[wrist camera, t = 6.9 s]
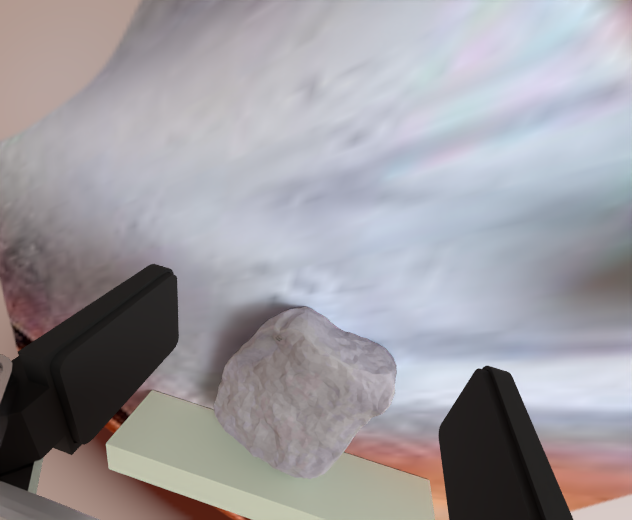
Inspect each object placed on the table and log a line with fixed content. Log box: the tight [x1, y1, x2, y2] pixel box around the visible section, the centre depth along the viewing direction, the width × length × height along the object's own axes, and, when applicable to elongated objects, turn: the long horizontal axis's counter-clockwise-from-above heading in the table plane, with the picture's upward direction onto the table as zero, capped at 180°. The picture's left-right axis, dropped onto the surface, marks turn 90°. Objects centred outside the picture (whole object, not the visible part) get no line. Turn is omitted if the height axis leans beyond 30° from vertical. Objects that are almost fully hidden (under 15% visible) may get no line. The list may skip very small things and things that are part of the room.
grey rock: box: [214, 307, 397, 479], centre depth 22 cm, size 12×5×10 cm
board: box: [106, 390, 435, 520], centre depth 24 cm, size 3×24×5 cm, turn 78°
